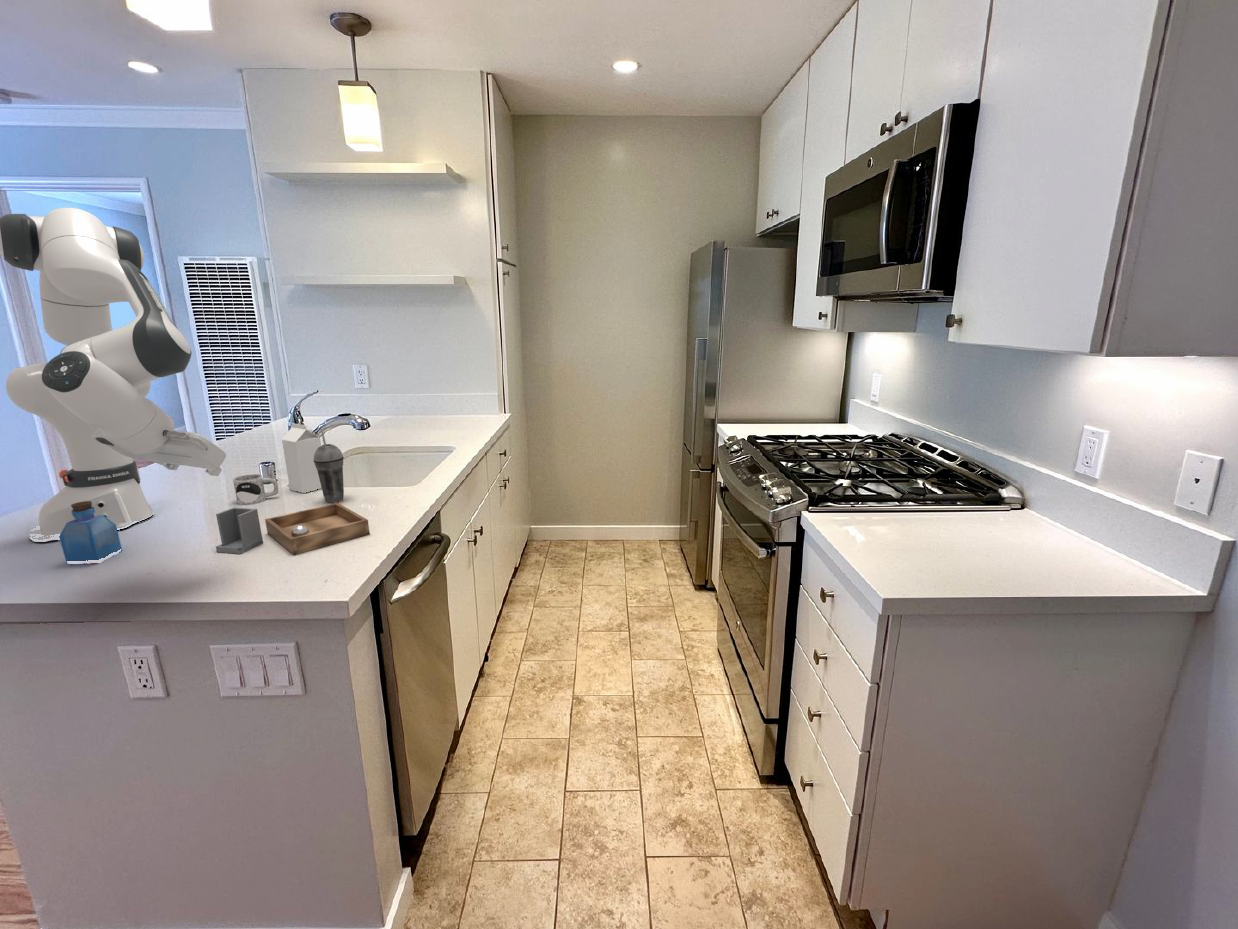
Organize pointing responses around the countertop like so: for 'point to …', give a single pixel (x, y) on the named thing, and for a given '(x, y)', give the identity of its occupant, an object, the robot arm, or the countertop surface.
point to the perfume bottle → (88, 535)
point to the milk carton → (301, 458)
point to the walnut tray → (317, 527)
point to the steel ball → (299, 531)
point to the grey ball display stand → (239, 530)
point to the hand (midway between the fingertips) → (195, 469)
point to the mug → (252, 489)
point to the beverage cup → (330, 471)
